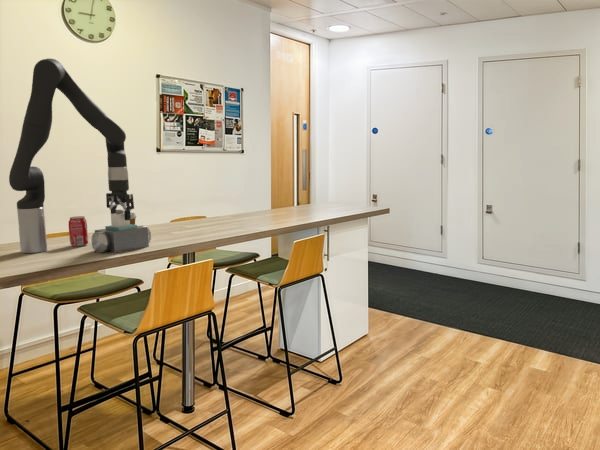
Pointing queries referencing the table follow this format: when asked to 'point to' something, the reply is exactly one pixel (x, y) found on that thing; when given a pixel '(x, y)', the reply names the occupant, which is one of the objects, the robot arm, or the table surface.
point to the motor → (120, 238)
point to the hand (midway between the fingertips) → (120, 219)
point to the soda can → (78, 231)
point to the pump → (119, 219)
